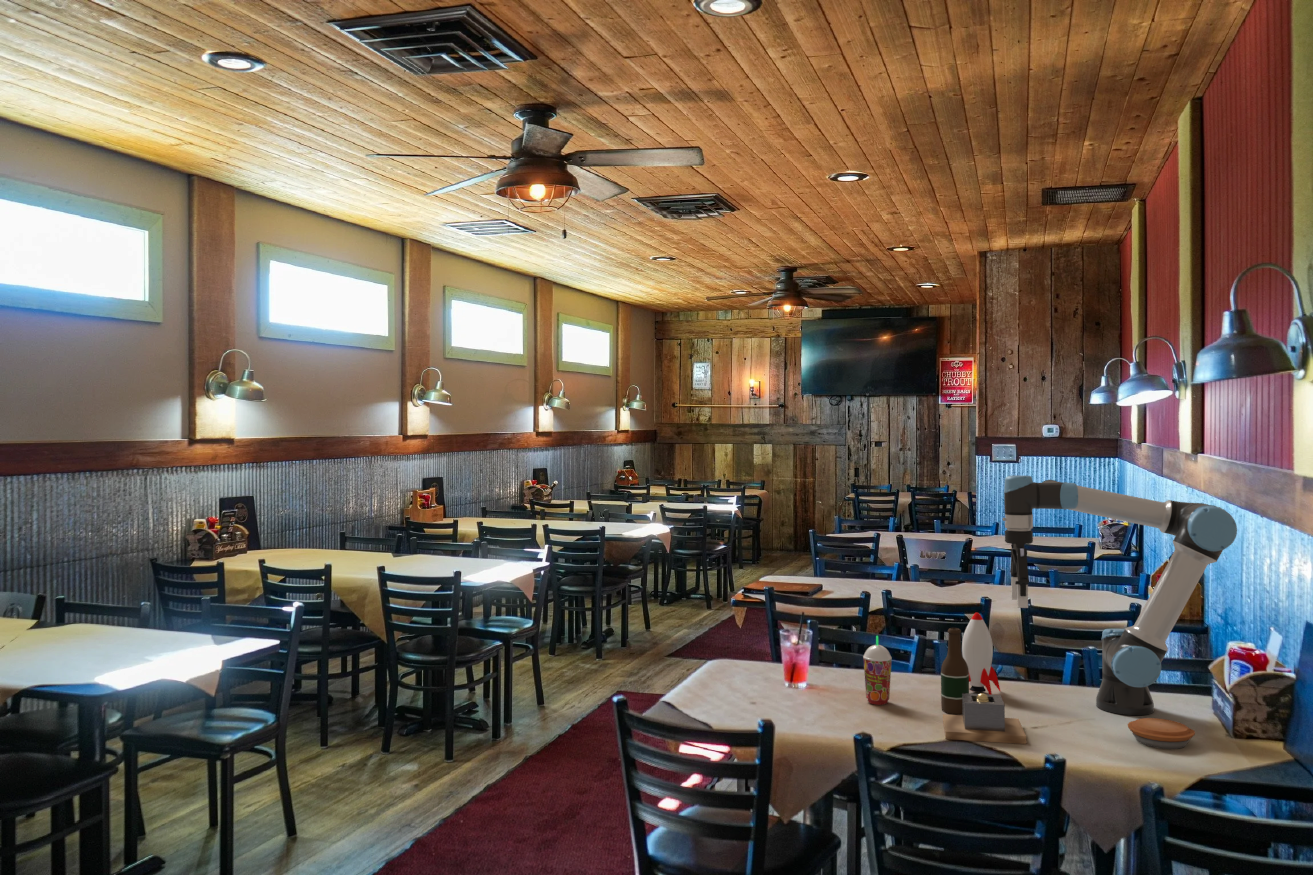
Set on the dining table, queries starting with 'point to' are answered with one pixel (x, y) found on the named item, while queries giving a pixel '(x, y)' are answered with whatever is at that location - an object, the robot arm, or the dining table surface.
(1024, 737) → the board
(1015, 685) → the dining table surface
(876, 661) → the smoothie
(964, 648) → the rocket
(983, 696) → the post
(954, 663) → the beer bottle
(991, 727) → the grey square socket block
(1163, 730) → the pie
